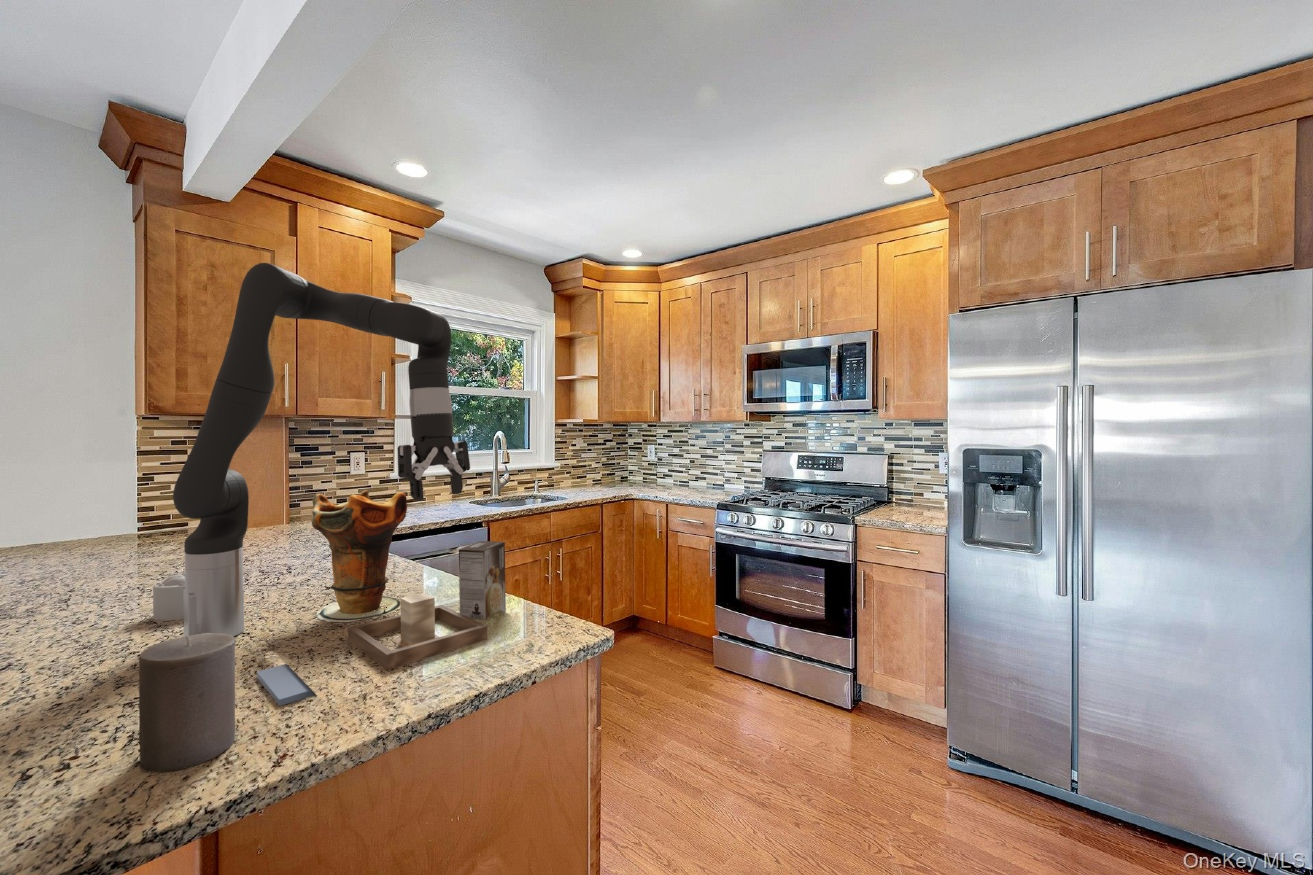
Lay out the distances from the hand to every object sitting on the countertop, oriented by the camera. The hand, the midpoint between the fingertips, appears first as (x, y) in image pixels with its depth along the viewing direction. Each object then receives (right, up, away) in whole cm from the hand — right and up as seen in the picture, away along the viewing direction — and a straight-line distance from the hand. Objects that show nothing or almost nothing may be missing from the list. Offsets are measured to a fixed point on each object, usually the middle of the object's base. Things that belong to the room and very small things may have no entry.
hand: (438, 496), depth 109 cm
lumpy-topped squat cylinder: (-63, -28, +19) cm, 72 cm away
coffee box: (+4, -28, +15) cm, 32 cm away
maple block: (-3, -27, -2) cm, 27 cm away
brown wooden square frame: (-3, -28, -2) cm, 29 cm away
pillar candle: (-18, -29, -35) cm, 50 cm away
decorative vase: (-26, -28, +21) cm, 43 cm away
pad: (-15, -29, -14) cm, 35 cm away
